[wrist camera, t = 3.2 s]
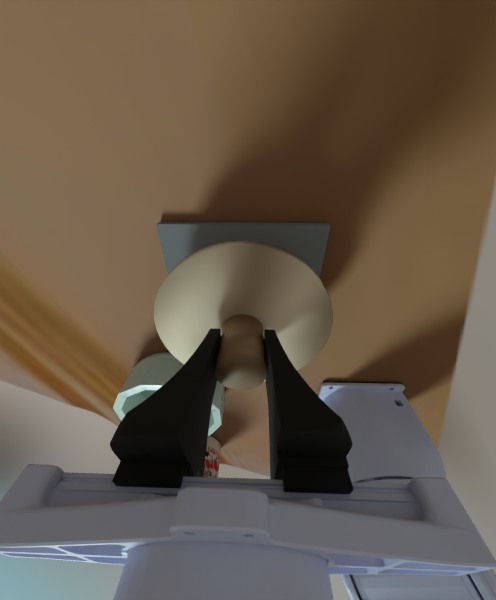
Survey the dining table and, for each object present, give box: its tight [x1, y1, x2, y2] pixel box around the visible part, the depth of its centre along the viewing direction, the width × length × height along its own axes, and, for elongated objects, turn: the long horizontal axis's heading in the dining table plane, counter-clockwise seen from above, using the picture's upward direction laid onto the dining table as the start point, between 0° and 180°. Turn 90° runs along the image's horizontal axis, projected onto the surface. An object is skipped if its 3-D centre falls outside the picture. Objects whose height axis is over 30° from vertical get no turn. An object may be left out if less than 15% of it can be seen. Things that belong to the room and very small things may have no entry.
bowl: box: [113, 352, 225, 436], centre depth 24 cm, size 11×11×4 cm
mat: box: [157, 222, 331, 278], centre depth 18 cm, size 12×12×1 cm
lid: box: [154, 241, 333, 390], centre depth 14 cm, size 12×12×4 cm
